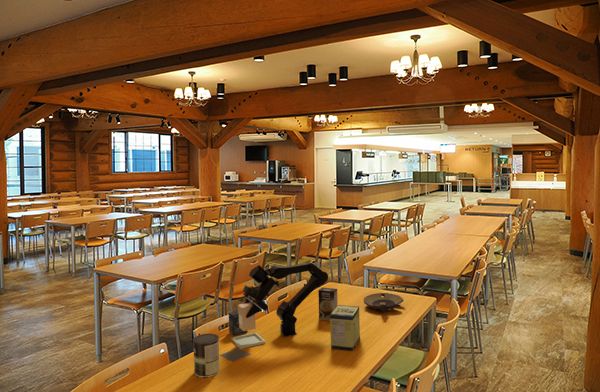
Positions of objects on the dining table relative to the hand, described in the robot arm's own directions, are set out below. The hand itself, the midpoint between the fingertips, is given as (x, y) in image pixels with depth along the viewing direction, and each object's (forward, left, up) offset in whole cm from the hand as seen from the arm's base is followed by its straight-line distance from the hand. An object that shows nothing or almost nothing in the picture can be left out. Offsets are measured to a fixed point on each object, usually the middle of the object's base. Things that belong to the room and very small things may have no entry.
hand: (244, 315), depth 205 cm
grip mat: (+7, +11, -13) cm, 19 cm away
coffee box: (-50, -14, -13) cm, 53 cm away
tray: (-2, -1, -13) cm, 13 cm away
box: (0, -15, -13) cm, 20 cm away
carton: (-1, 0, -6) cm, 6 cm away
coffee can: (+21, +22, -13) cm, 34 cm away
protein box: (-43, +20, -14) cm, 49 cm away
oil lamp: (-84, -15, -14) cm, 86 cm away
